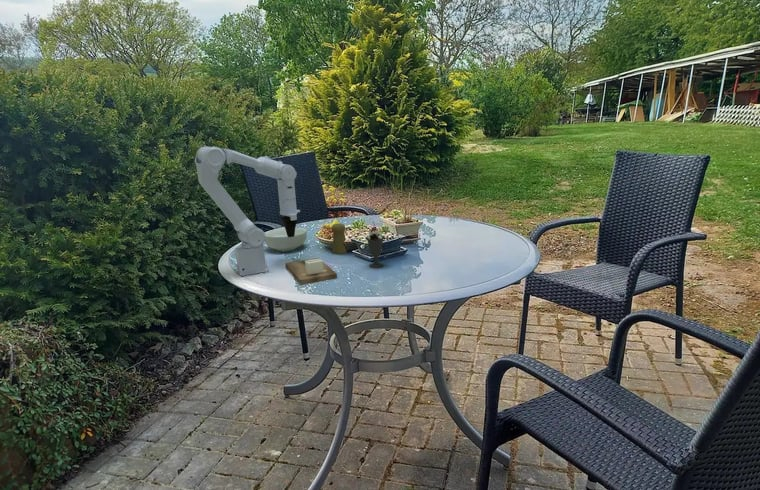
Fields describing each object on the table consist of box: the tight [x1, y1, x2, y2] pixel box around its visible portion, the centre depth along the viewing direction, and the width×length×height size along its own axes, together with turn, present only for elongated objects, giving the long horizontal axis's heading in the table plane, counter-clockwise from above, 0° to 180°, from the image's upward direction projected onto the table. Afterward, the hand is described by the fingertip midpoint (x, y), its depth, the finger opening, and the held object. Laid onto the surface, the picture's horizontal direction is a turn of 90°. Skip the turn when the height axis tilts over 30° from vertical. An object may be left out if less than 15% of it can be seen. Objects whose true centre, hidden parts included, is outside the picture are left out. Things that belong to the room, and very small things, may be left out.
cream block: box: [305, 258, 324, 275], centre depth 144 cm, size 5×3×4 cm, turn 115°
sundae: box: [364, 221, 386, 269], centre depth 152 cm, size 7×7×15 cm
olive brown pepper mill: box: [331, 223, 348, 255], centre depth 171 cm, size 6×6×11 cm
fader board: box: [284, 257, 338, 286], centre depth 150 cm, size 12×20×2 cm, turn 25°
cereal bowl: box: [264, 227, 308, 252], centre depth 179 cm, size 17×17×7 cm
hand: (290, 236), depth 160 cm, fingers closed
